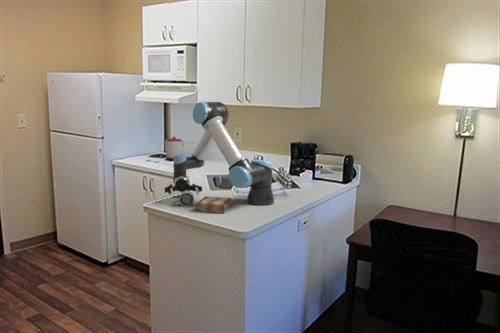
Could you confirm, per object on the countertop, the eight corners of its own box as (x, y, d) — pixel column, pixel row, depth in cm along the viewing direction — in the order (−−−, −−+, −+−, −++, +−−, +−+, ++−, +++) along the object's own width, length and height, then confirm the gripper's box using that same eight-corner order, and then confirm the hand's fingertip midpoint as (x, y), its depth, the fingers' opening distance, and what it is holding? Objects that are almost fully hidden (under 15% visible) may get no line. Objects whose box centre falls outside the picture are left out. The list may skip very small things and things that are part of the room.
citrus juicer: (186, 160, 355) (186, 137, 351) (166, 161, 350) (165, 137, 346) (183, 157, 370) (183, 135, 366) (163, 158, 364) (163, 135, 361)
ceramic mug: (193, 202, 223) (193, 188, 222) (194, 206, 215) (193, 192, 214) (174, 203, 221) (173, 189, 220) (173, 207, 213) (173, 192, 212)
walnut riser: (230, 205, 219) (231, 197, 218) (224, 213, 204) (224, 205, 204) (205, 203, 221) (205, 195, 221) (197, 211, 207) (197, 203, 206)
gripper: (202, 189, 243) (208, 199, 223) (159, 191, 237) (161, 200, 217) (202, 177, 242) (208, 185, 222) (159, 178, 236) (160, 186, 215)
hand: (185, 193), depth 219 cm, fingers open, 13 cm apart
